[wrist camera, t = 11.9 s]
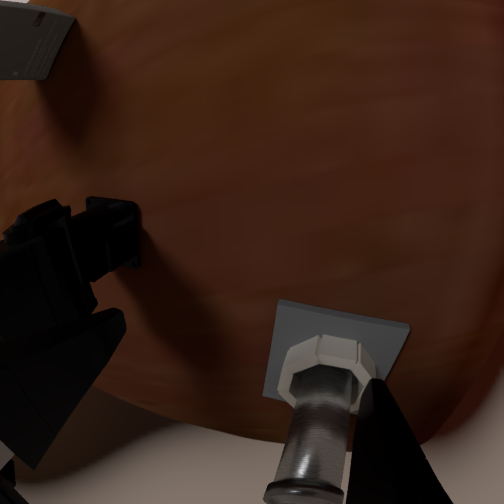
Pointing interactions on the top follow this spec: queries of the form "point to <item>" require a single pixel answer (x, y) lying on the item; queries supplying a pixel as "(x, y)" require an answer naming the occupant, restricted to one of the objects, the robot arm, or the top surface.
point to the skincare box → (30, 39)
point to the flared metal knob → (315, 440)
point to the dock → (329, 348)
